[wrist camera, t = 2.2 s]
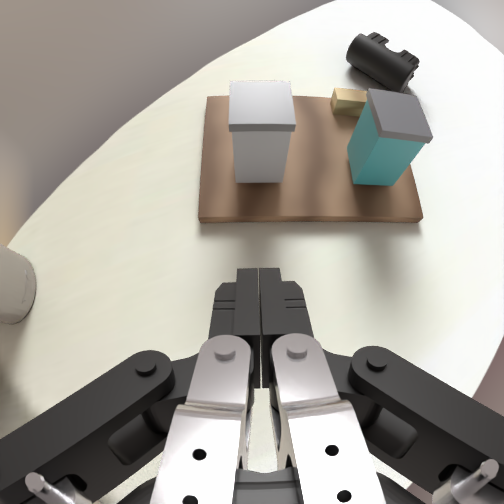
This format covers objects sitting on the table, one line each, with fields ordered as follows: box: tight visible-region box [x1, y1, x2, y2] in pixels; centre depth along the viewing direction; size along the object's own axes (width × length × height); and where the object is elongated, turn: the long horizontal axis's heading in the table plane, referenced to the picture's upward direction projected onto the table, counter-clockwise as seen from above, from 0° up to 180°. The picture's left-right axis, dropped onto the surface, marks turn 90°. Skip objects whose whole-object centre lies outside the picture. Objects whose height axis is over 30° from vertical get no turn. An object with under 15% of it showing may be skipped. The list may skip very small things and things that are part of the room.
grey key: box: [229, 81, 296, 183], centre depth 30 cm, size 5×5×10 cm
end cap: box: [346, 32, 419, 93], centre depth 40 cm, size 10×7×7 cm
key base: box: [198, 88, 423, 223], centre depth 36 cm, size 26×18×4 cm
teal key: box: [347, 88, 433, 186], centre depth 30 cm, size 5×5×10 cm
